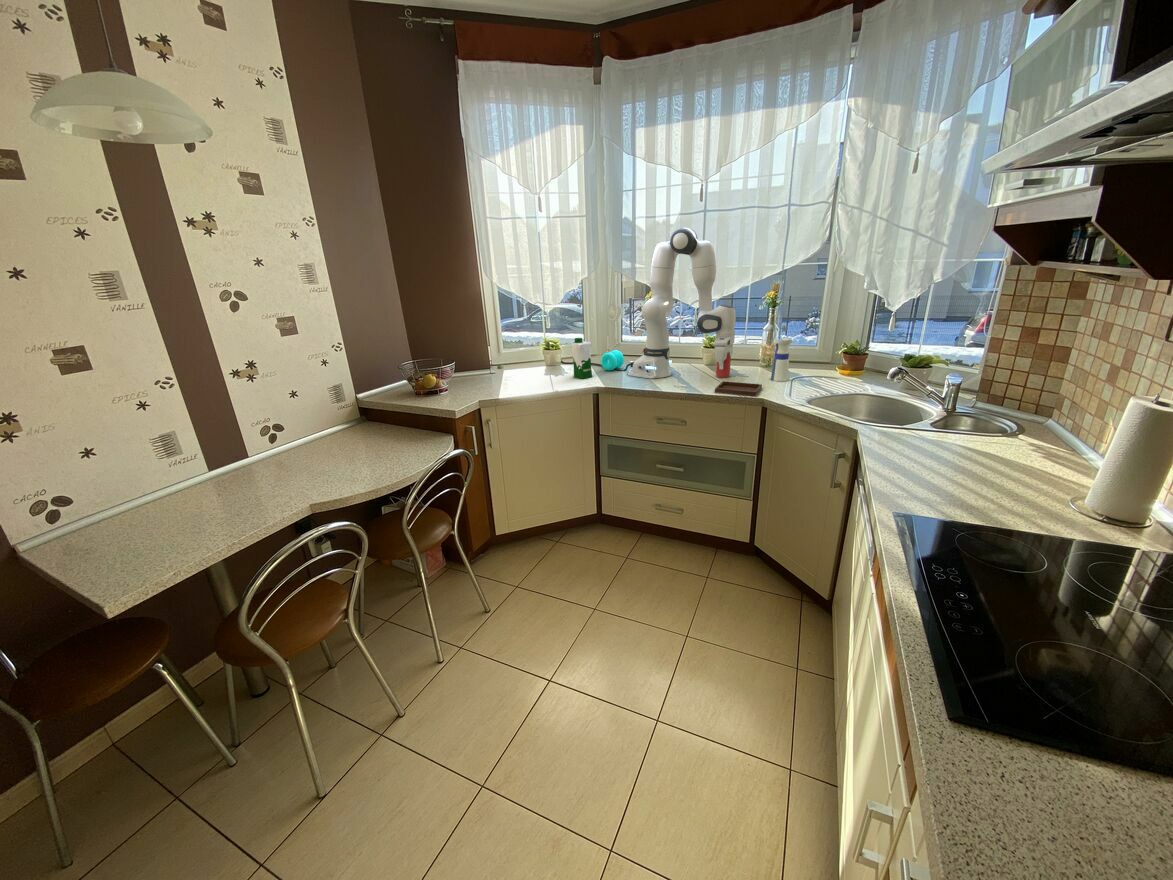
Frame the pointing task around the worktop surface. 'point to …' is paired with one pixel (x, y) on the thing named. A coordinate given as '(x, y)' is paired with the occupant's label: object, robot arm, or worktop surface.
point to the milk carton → (581, 358)
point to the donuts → (612, 360)
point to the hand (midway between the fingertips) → (723, 367)
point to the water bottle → (781, 359)
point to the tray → (738, 388)
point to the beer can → (726, 370)
